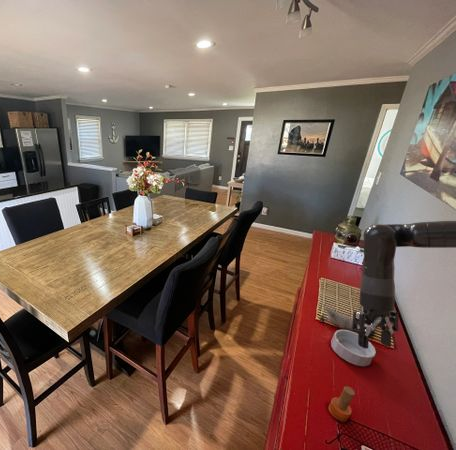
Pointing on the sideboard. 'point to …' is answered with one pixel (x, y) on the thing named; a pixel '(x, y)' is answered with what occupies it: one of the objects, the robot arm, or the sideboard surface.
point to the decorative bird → (339, 319)
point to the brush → (342, 405)
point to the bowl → (352, 348)
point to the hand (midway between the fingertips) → (374, 346)
